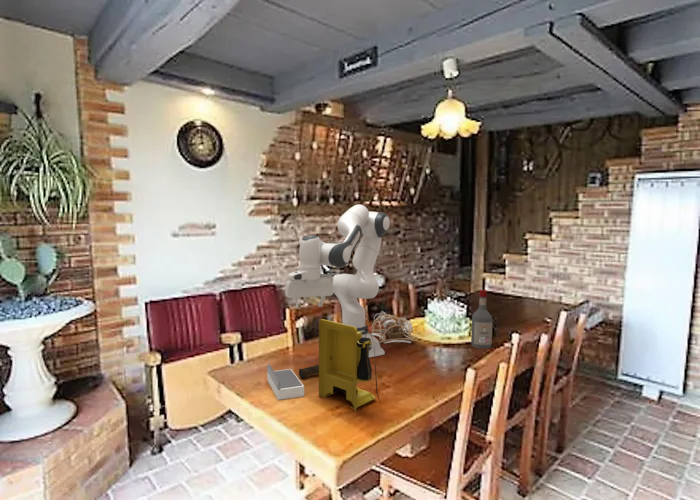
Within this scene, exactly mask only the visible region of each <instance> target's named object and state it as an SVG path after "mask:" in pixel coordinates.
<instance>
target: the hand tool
mask: <svg viewBox="0 0 700 500" xmlns="http://www.w3.org/2000/svg"><path fill="white" fill-rule="evenodd" d="M317 374H319V364H317V365H313V366H309V367H308V366H307V367H304V368H298V376H299V378H301V379H304V378H307V377H309V376H312V375H317Z"/></svg>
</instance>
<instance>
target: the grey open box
mask: <svg viewBox="0 0 700 500" xmlns="http://www.w3.org/2000/svg"><path fill="white" fill-rule="evenodd" d="M266 370H267V371H266V374H267V379H266V380H267V382H268V385H269V386H270V388H271V390H272V392H273V393H274V395H275V397H276V399H277V401H280V400H282V401H283V400H287V399H294V398H295V399H296V398H301V397H305V385H304V384H303V383H302V381H301V380H300V379H299V377H298V376H297V375H296V373H295V372H294V371H293V369H292V368H289V369H287V368H285V369H280V370H274V369H273V367H272V366H271V364H267V367H266Z"/></svg>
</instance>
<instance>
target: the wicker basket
mask: <svg viewBox="0 0 700 500" xmlns="http://www.w3.org/2000/svg"><path fill="white" fill-rule="evenodd" d="M377 315H378V316H377ZM376 316H377V317H376ZM375 317H376V318H375ZM373 319H374V320H373V322H372V325H371V327H372V331H371V333H370V332H369V333H370V334H372V335H373V336H374V337H375V336H376V337H379V343H380V344H382V343H383V344H389V343H408V344H411V343H412V341H413V342H415V339H414V338H413V336H412V332H411V330H412V329H413V326H412V323H411V321H410V320H409V319H407V318H405V317H397V316H395V315H394V314H389V313H388V314H387V313H386V312H384V311H383V310H381V311H380V313H376V314H375V315H374V317H373ZM395 319H396V320H397V321H396V320H395ZM382 322H383V323H382ZM377 323H378V325H377ZM381 323H382V324H381ZM382 326H383V328H382ZM375 327H377V328H378V329H375ZM412 331H413V330H412ZM407 332H408V333H407ZM386 336H388V337H386ZM409 336H410V337H409ZM387 338H389V339H387Z"/></svg>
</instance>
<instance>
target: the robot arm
mask: <svg viewBox="0 0 700 500" xmlns="http://www.w3.org/2000/svg"><path fill="white" fill-rule="evenodd" d="M336 224H337V225H336V226H337V227H336V228H337V230H338V232H339V234H341V236H342V237H344V238H345V239H344V240H343V241H342V242H340V243H331V242H330V243H329V242H328V243H327V242H324V241H323V240H322V239H320V237H319V236H318V235H313V234H311V235H306V236H305V235H304V236H303V237H302V238H301V239H300V244H299V254H298V255H299V262H300V263H299V266H298V267H299V268H298V269H297V270H295V271H292V272H289V273H287V274H288V275H287V277H288V279H287V281H286V282H285V290H284V291H285V292H284V293H285V294H284V295H285V297H286V298H288V299H293V301H294V302H295V305H296V309H301V308H302V307H301V305H302V304H301V303H300V302H298V300H299V298H311V297H313V298H314V297H320V300H319V301H317V306H318V308H319V307H320V308H321V307H322V308H323V306H324V305H323V303H324V302H325V300H326V297H331V296H333V295H335V296H336V298H337V299H338V301H339V303H340V306H341V312H342V313H341V314H342V318H341V319H342V324H345V325H350V326H354V327H356V328H357V331H358V332H362V337H365V336H366V337H365V338H370V339H371V342H372V345H371V346H369V359H370V358H376V357H378V356H383V355H385V354H386V353H385V352H386V351H385V350H384V349H383V348H382V347H381V343H380V340H378V339H377V337H375V335H372V336H371V334H369V333H370V332H372V330H373V329H372V326H369V325H367V324H366V309H365V308H364V306H363V305H362V304H360V302H359V300H358V299H360V300H361V299H363V300H367V299H374V298H375V297H376V296H377V294H379V290H380V285H379V282H378V280H377V279H376V278H375V276H374V268H375V265H376V262H377V259H378V256H379V253H380V250H381V245H382V238H383V237H384V236H385V234H387V233H388V231H389V229H390V227H391V218H390V217H389V215H388V214H387V213H385V212H382V211H381V212H380V211H379V212H378V211H369V209H368V207H367V206H365V205H364V204H354V205H353V206H352V207H350V208H348V209H347V210H346V211H345V212H344V213H343V214H342V215H341V216H340V217H339V218H338V221H337V223H336ZM362 235H363V236H362ZM355 249H356V250H355ZM354 251H355V253H354V255H353V258H352V265H353V268H355V269H356V270H357V271H356V272H355V274H351V273H340V274H339V273H338V274H335V275H334V276H333V275H332V274H330V273H321V266H329V267H335V268H341V269H342V268H345V267H346V266H347V265H348V264H349V262H350V261H351V257H352V254H353V252H354ZM367 332H368V333H367ZM366 333H367V335H366ZM372 337H373V340H372ZM373 341H374V343H373ZM374 349H375V356H374Z"/></svg>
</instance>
